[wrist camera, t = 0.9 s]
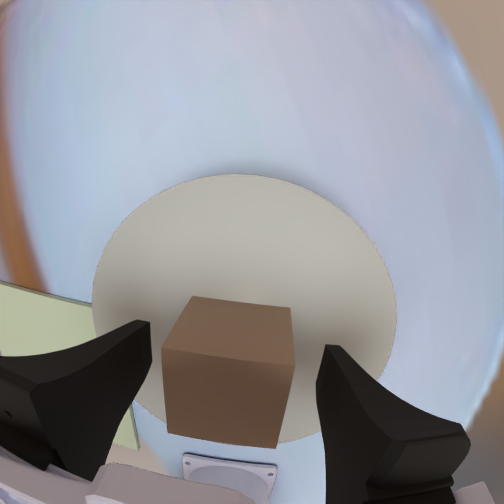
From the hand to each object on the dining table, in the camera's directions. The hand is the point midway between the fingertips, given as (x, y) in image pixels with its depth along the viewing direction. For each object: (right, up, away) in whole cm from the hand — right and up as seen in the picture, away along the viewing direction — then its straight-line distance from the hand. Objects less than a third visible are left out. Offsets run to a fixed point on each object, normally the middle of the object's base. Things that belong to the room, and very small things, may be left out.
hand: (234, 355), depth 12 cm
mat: (-15, -5, +9) cm, 18 cm away
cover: (0, 0, +2) cm, 2 cm away
